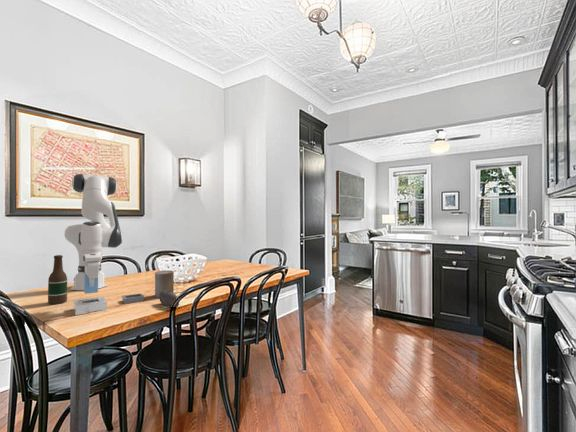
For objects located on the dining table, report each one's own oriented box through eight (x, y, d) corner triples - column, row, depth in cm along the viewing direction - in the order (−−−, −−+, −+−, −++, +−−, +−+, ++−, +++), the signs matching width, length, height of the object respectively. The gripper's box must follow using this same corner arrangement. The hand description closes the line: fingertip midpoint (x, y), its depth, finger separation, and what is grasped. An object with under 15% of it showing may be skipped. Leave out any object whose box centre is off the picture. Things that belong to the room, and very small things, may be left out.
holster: (122, 301, 158) (122, 295, 158) (140, 299, 164) (140, 293, 164) (125, 304, 153) (125, 298, 153) (144, 302, 158) (144, 296, 158)
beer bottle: (70, 301, 158) (71, 254, 158) (55, 305, 150) (56, 256, 150) (59, 300, 160) (60, 254, 160) (43, 304, 152) (44, 255, 153)
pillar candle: (176, 294, 174) (176, 268, 174) (168, 299, 164) (168, 271, 165) (160, 294, 175) (160, 268, 175) (151, 298, 165) (151, 270, 165)
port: (74, 308, 145) (74, 300, 145) (103, 304, 153) (103, 296, 153) (75, 315, 136) (75, 306, 136) (106, 310, 143) (106, 301, 143)
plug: (84, 292, 144) (84, 273, 144) (96, 290, 147) (97, 272, 147) (84, 293, 141) (84, 274, 141) (97, 292, 144) (98, 273, 145)
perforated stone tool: (182, 308, 148) (182, 294, 148) (172, 311, 144) (172, 296, 144) (168, 302, 158) (168, 289, 158) (158, 304, 154) (158, 290, 154)
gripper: (81, 254, 151) (81, 282, 151) (85, 258, 135) (84, 290, 134) (96, 253, 155) (96, 280, 154) (102, 257, 138) (101, 288, 138)
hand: (90, 285), depth 144 cm, fingers closed on plug, 4 cm apart
